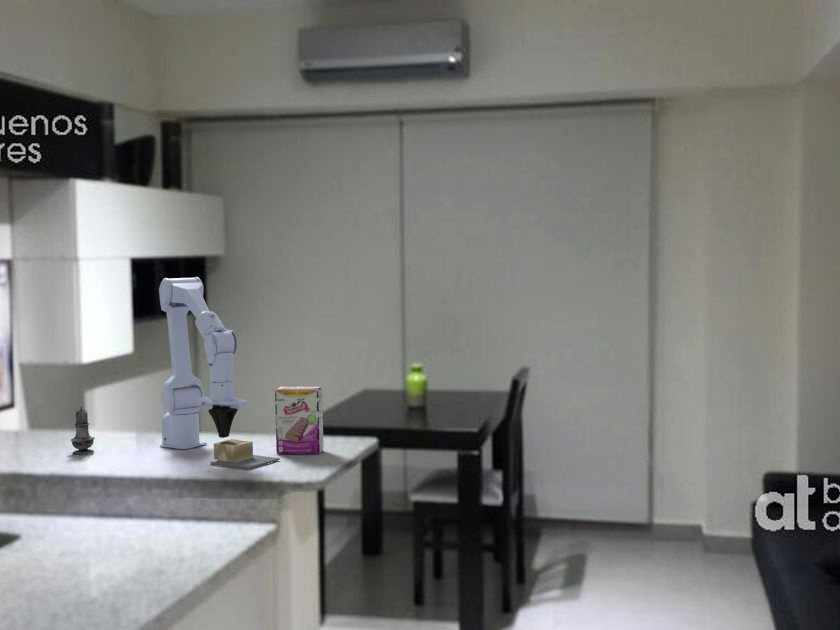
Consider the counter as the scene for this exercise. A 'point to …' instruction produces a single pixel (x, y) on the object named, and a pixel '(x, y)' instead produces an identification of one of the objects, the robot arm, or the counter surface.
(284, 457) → the counter surface
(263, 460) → the grey plate
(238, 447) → the maple block
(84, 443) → the salt shaker
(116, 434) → the counter surface
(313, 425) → the candy bar box
